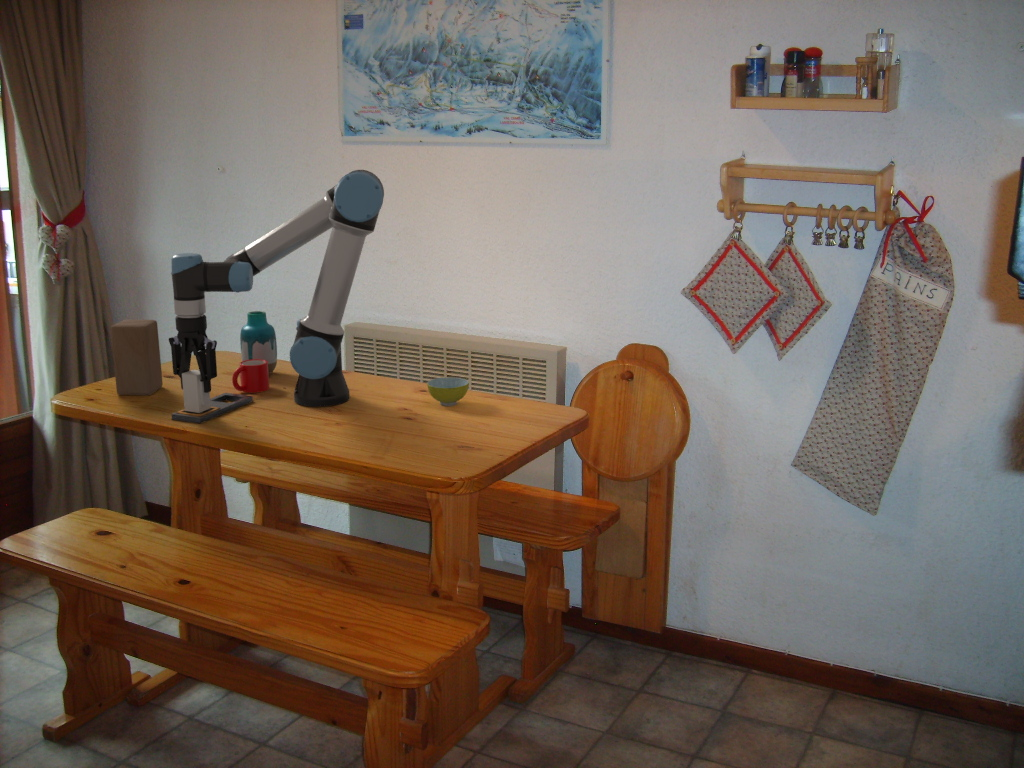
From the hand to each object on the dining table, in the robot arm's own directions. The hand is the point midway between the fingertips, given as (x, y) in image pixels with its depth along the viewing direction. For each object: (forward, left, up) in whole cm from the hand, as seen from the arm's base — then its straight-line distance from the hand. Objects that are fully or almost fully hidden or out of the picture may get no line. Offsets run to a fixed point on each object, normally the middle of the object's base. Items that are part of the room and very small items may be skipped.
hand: (197, 402), depth 253 cm
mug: (+3, -26, -4) cm, 27 cm away
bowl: (-55, -36, -4) cm, 66 cm away
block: (+31, -13, -4) cm, 34 cm away
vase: (+11, -42, -4) cm, 44 cm away
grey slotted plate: (0, -6, -4) cm, 7 cm away
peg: (0, 0, -2) cm, 2 cm away
